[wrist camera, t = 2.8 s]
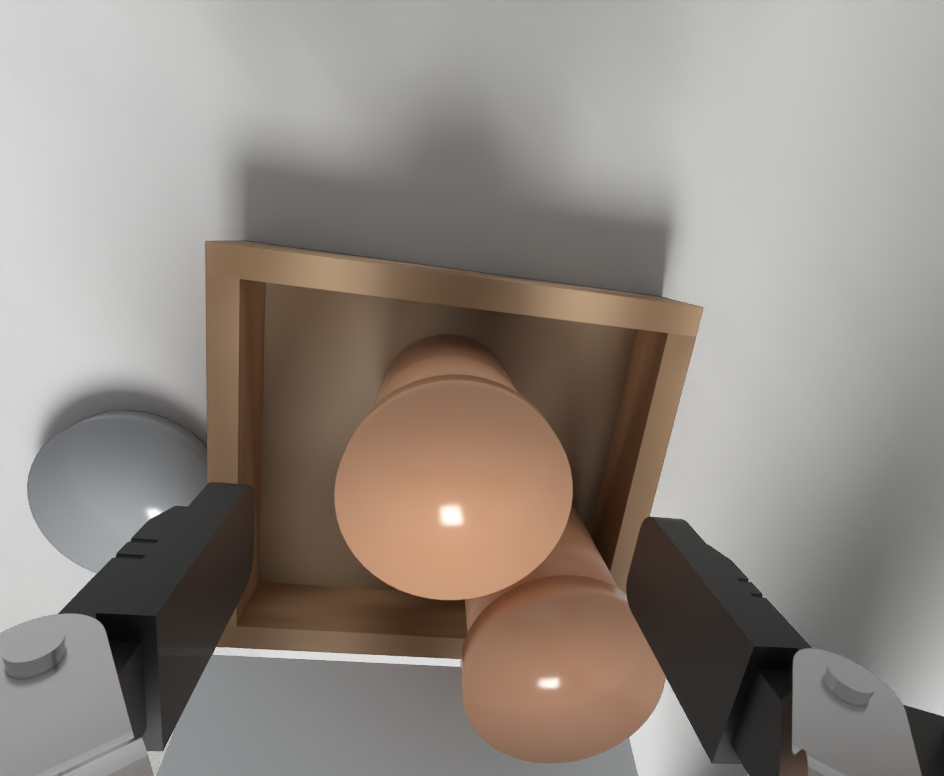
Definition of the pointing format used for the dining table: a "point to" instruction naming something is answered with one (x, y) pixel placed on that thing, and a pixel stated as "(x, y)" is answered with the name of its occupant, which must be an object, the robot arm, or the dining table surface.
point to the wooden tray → (354, 393)
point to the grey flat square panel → (344, 724)
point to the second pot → (558, 659)
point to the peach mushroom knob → (452, 476)
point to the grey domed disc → (112, 481)
